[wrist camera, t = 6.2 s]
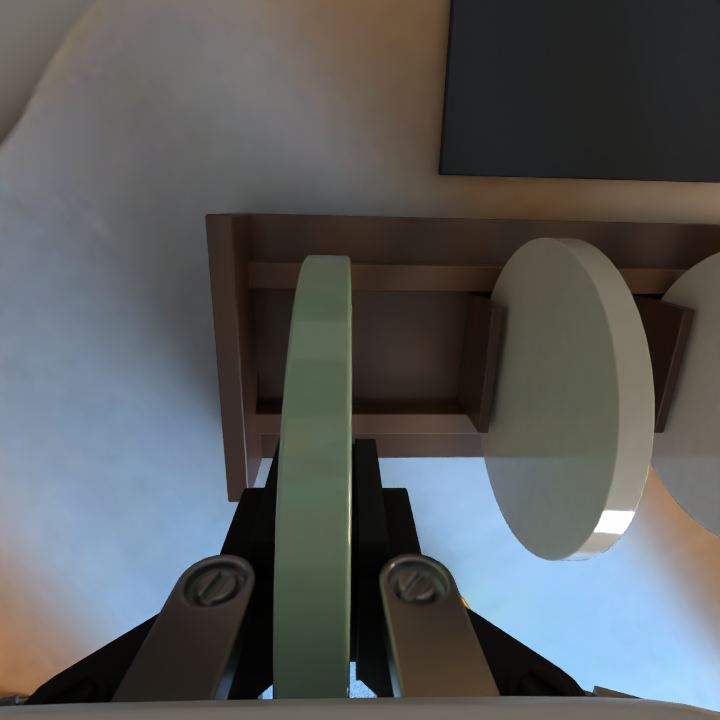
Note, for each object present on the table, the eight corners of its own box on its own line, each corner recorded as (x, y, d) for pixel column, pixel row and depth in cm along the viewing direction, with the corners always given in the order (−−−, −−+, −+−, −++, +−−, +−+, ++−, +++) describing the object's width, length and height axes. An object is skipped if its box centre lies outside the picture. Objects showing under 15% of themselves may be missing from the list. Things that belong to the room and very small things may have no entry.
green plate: (348, 240, 16) (357, 313, 4) (344, 530, 19) (343, 989, 8) (319, 239, 16) (249, 311, 4) (321, 530, 19) (285, 992, 8)
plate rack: (738, 224, 24) (844, 228, 19) (678, 446, 28) (752, 497, 23) (233, 213, 22) (204, 213, 17) (248, 447, 26) (227, 502, 21)
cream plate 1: (512, 230, 22) (705, 253, 10) (485, 452, 25) (604, 647, 14) (492, 230, 22) (663, 252, 10) (468, 452, 25) (573, 648, 14)
